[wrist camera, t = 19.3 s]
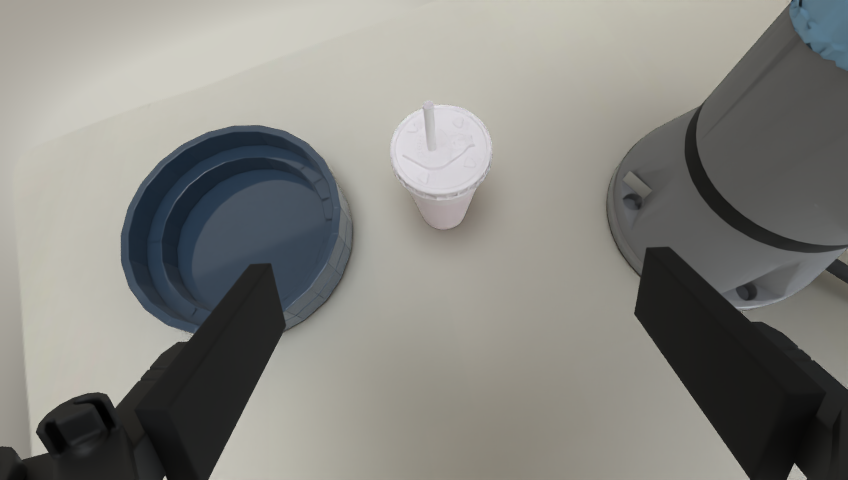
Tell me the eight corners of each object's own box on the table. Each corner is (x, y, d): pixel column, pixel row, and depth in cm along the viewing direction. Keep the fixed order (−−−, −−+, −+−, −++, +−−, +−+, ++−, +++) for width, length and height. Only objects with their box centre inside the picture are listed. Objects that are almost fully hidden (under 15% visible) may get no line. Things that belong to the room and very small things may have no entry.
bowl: (394, 240, 35) (386, 220, 31) (233, 387, 32) (200, 387, 28) (274, 121, 39) (253, 89, 35) (124, 240, 37) (81, 221, 32)
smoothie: (398, 182, 37) (368, 66, 23) (472, 166, 37) (483, 41, 23) (413, 253, 35) (389, 169, 21) (491, 235, 35) (516, 142, 21)
